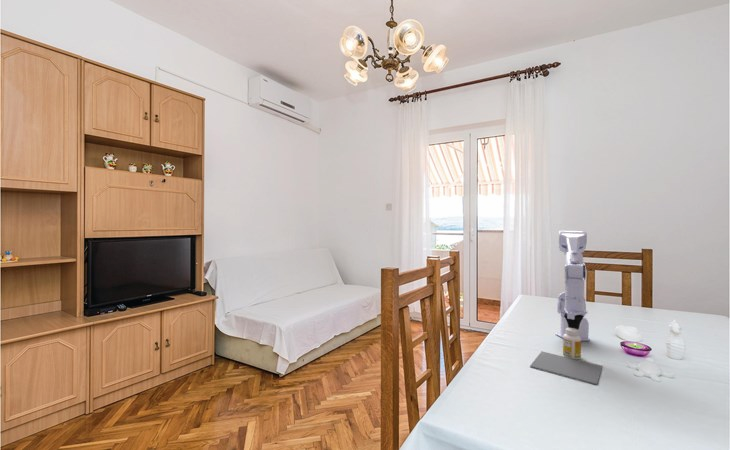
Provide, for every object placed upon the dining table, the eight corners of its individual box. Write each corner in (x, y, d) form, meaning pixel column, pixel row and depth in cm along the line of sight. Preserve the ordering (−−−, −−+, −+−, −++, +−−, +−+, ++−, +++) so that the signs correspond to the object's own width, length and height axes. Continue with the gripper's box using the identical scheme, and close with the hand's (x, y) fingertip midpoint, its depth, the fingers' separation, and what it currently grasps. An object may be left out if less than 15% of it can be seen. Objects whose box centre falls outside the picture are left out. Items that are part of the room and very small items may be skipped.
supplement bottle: (579, 354, 119) (580, 328, 118) (582, 361, 114) (582, 333, 113) (562, 352, 121) (562, 325, 121) (563, 358, 116) (564, 330, 116)
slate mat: (541, 352, 121) (541, 351, 121) (602, 366, 109) (602, 365, 109) (530, 367, 109) (530, 365, 109) (596, 385, 97) (596, 383, 97)
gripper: (584, 302, 111) (584, 343, 111) (590, 295, 122) (589, 332, 122) (560, 299, 116) (559, 338, 116) (567, 292, 127) (567, 328, 127)
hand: (573, 334), depth 119 cm, fingers closed, pressing on supplement bottle
